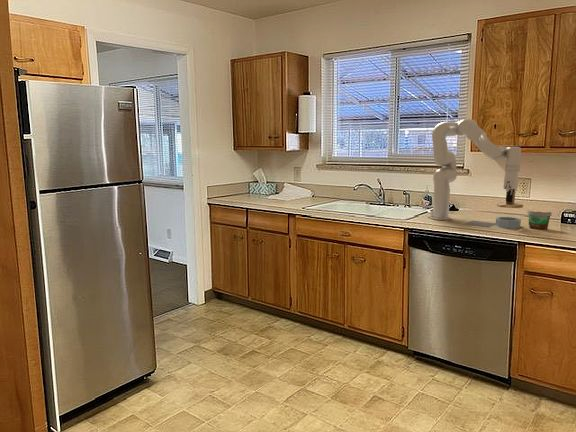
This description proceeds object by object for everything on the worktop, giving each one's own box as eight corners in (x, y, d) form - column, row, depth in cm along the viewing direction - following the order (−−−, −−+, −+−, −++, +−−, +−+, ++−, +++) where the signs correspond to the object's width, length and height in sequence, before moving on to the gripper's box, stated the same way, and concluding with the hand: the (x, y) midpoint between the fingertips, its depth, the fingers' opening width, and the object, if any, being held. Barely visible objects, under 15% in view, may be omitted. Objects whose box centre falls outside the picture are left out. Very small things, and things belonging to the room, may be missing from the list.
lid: (493, 206, 267) (494, 192, 265) (501, 203, 276) (502, 190, 275) (518, 208, 258) (519, 193, 256) (526, 205, 267) (527, 191, 266)
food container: (524, 228, 265) (526, 211, 263) (526, 227, 270) (527, 209, 269) (549, 231, 258) (551, 213, 257) (550, 229, 263) (552, 211, 262)
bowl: (493, 227, 269) (493, 218, 268) (500, 224, 278) (501, 216, 277) (515, 230, 261) (516, 221, 260) (522, 227, 270) (522, 218, 269)
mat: (462, 225, 276) (462, 224, 276) (472, 221, 287) (472, 220, 287) (488, 228, 266) (488, 227, 266) (497, 224, 277) (497, 223, 277)
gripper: (510, 167, 272) (508, 199, 275) (500, 169, 260) (498, 202, 263) (524, 168, 267) (521, 200, 270) (514, 170, 255) (512, 203, 258)
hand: (510, 201), depth 267 cm, fingers closed on lid, 3 cm apart
